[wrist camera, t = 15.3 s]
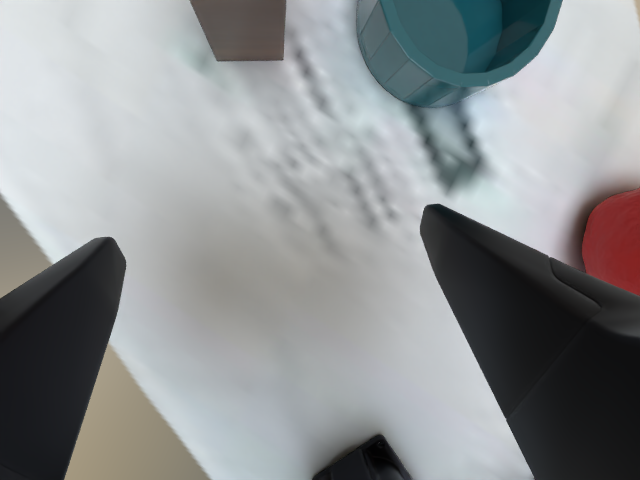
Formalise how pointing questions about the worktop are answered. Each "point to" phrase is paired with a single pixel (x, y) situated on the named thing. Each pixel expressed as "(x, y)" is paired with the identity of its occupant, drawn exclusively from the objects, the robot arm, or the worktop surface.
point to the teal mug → (450, 44)
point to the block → (243, 28)
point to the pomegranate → (615, 241)
